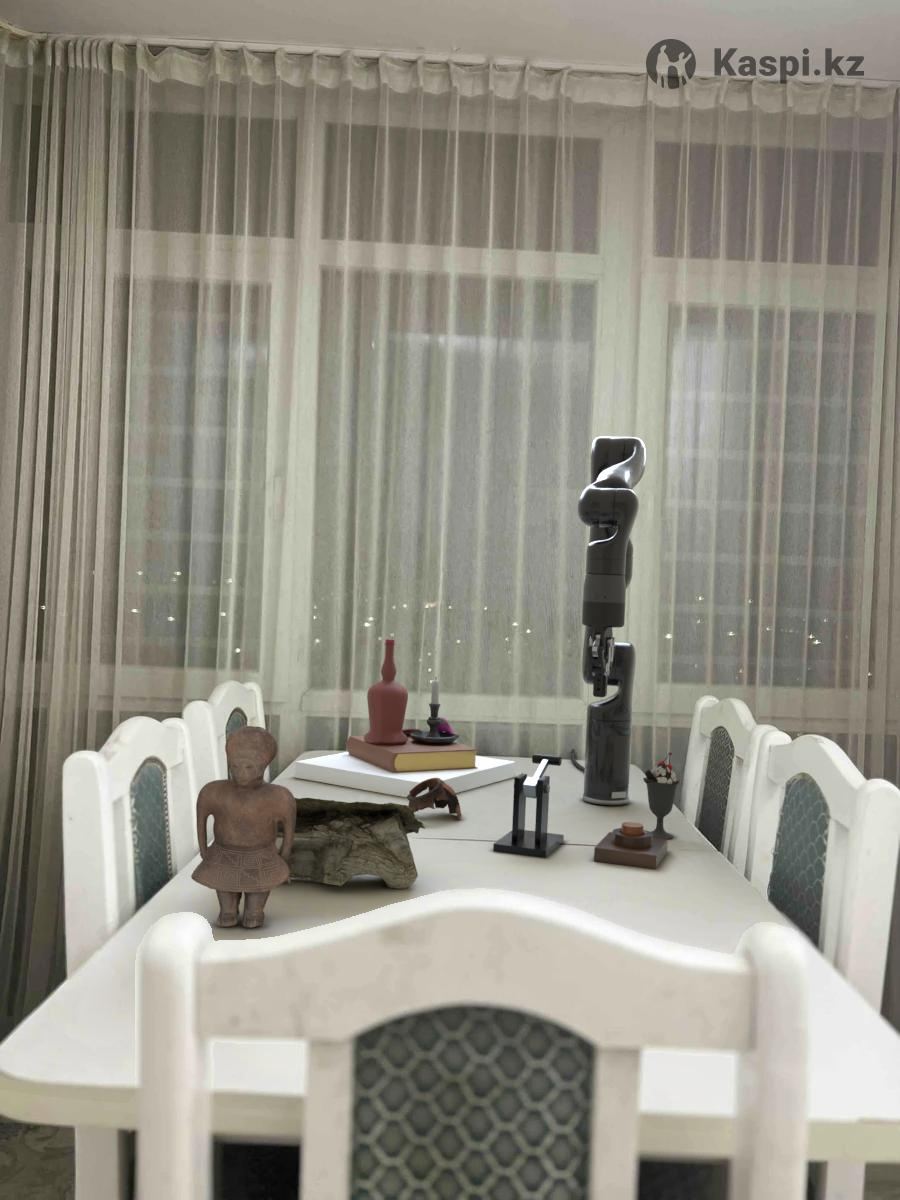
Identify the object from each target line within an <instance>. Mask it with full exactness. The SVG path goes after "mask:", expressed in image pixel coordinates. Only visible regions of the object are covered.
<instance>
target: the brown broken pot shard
mask: <svg viewBox="0 0 900 1200" xmlns="http://www.w3.org/2000/svg"><path fill="white" fill-rule="evenodd" d="M427 787H429V792H428V793H426V794H424V795H421V796H418V797H416V796H417V795H418V794H419V793H421V792H422V791H424V790H426V789H427ZM409 793H410V794H409V795H408V796H407V797H406V799H407V800H408V805H407V806H410V807H411V808H413V809H415V811H416V812H419V811H424V810H425V809H432V810H435V808H436V809H445V808H448V813H449V815H454V814H456V820H457V821H461V819H462V812H461V805H460V802H459V798H458V796H457V793H455V792H454V790H453V789H452V788H451V787H450V786H449V785H447V784H445V782H444V781H442V780H441V779H439V778H431V779H427V780H425V781H422V782H421V783H419V784H418V785H416V786H415V787H414V788H412V789H411V790H410V792H409Z"/></svg>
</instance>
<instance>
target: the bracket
mask: <svg viewBox="0 0 900 1200" xmlns="http://www.w3.org/2000/svg"><path fill="white" fill-rule="evenodd" d="M527 777H528V774H527V773H520V774H518V775H517V776H516V775H515V777H513V778H514V780H513V804H512V823H511V824H512V825H511V826H512V827H511V830H510V831H508V833H506V834H505V835H503V836H502V837H501V838H499V839H498V840H497V841H495V842H493V848H492V849H493V850H492V851H493V852H498V853H499V852H500V853H506V854H507V853H508V854H515V855H521V856H530V857H537V858H545V859H546V858H547V857H548V856H549V855H551V853H553V852H554V851H555V850H556V849H558V848H559V846H561V844H563V843H564V842H565V839H564V838H565V835H564V834H559V833H553V832H552V833H551V832H548V826H549V824H548V823H549V806H550V805H549V802H550V791H551V786H550V782H551V781H550V780H551V778H550V777H551V776H549V775H543V776H542V778H540V779H538V780H537V798H536V804H535V825H534V826H535V828H534V830H527V829H526V807H527V806H526V805H527V797H524V794H523V784H524V782H525V780H526V778H527Z"/></svg>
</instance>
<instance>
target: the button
mask: <svg viewBox="0 0 900 1200" xmlns="http://www.w3.org/2000/svg"><path fill="white" fill-rule="evenodd" d="M621 828H622V830H621V833H622V834H626V835H633V836H641V835H643V832H644V830H645V826H644V824H643V823H640V822H636V821H625V822H622V823H621Z"/></svg>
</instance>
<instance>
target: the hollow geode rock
mask: <svg viewBox="0 0 900 1200" xmlns="http://www.w3.org/2000/svg"><path fill="white" fill-rule="evenodd" d="M294 798H295V801H296V824H295V832H294V841H293V845H292V849H291V853H290V855H289V859H288V861H287V862H286V864H287V866H288V867H289V870H290V875H289V876H290V878H291V879H299V880H307V879H309V880H311V881H312V882H315V883H324V884H327V885H334V886H340V887H342V886H343V885H344V884H345V883H346V882H347V881H348V880H350V879H352V878H353V877H357V876H365V875H366V876H374V877H379V878H380V879H382V880H383V881H384V882H385V885H386V887H388V888H390V889H396V890H397V889H402V890H403V889H407V888H410V887H411V886H412V885H413V884H414V883H415V882H416V881H417V878H418V876H419V875H418V871H417V867H416V864H415V858H414V855H413V852H412V848H411V845H410V840H409V837H408V834H412V833H415V834H419V832H420V829H423V830H426V826H425V824H424V823H423V822H421V821H419V820H418V819H417V818H416V816H415V813H417V811H415V809H413V808H411V807H410V806H408V805H407V804H400V803H395V802H386V803H375V802H370V801H351V802H347V801H340V800H339V801H337V800H332V799H322V798H321V799H320V798H314V797H301V798H300V797H299V798H297V797H294ZM283 835H284V826H283V823H282V822H281V821H280V822H279V826H278V835H277V839H276V846H277V848H278V850H279V852H280V851H281V848H282V840H283Z"/></svg>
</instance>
